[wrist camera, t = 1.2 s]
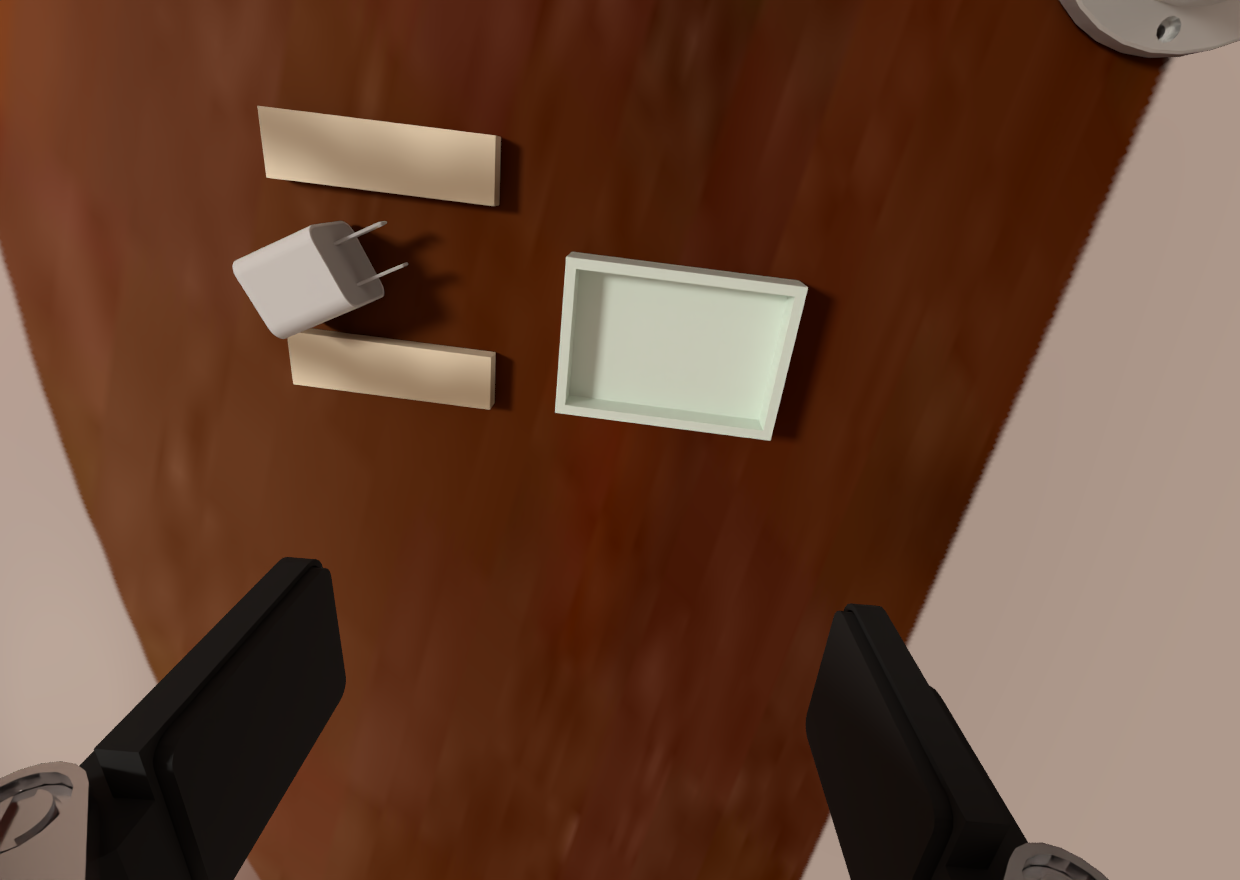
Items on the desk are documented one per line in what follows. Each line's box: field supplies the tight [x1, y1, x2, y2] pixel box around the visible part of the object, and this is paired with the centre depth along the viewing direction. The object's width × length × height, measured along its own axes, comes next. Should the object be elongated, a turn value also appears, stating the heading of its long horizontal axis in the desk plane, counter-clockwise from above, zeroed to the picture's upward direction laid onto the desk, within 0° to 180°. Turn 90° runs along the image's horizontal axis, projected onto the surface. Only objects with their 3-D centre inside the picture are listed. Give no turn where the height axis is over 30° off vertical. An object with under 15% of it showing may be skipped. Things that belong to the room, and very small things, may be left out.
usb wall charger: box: [233, 221, 408, 339], centre depth 28 cm, size 4×7×4 cm, turn 111°
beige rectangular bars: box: [257, 106, 501, 410], centre depth 30 cm, size 14×11×1 cm
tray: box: [555, 252, 808, 441], centre depth 30 cm, size 8×12×2 cm
